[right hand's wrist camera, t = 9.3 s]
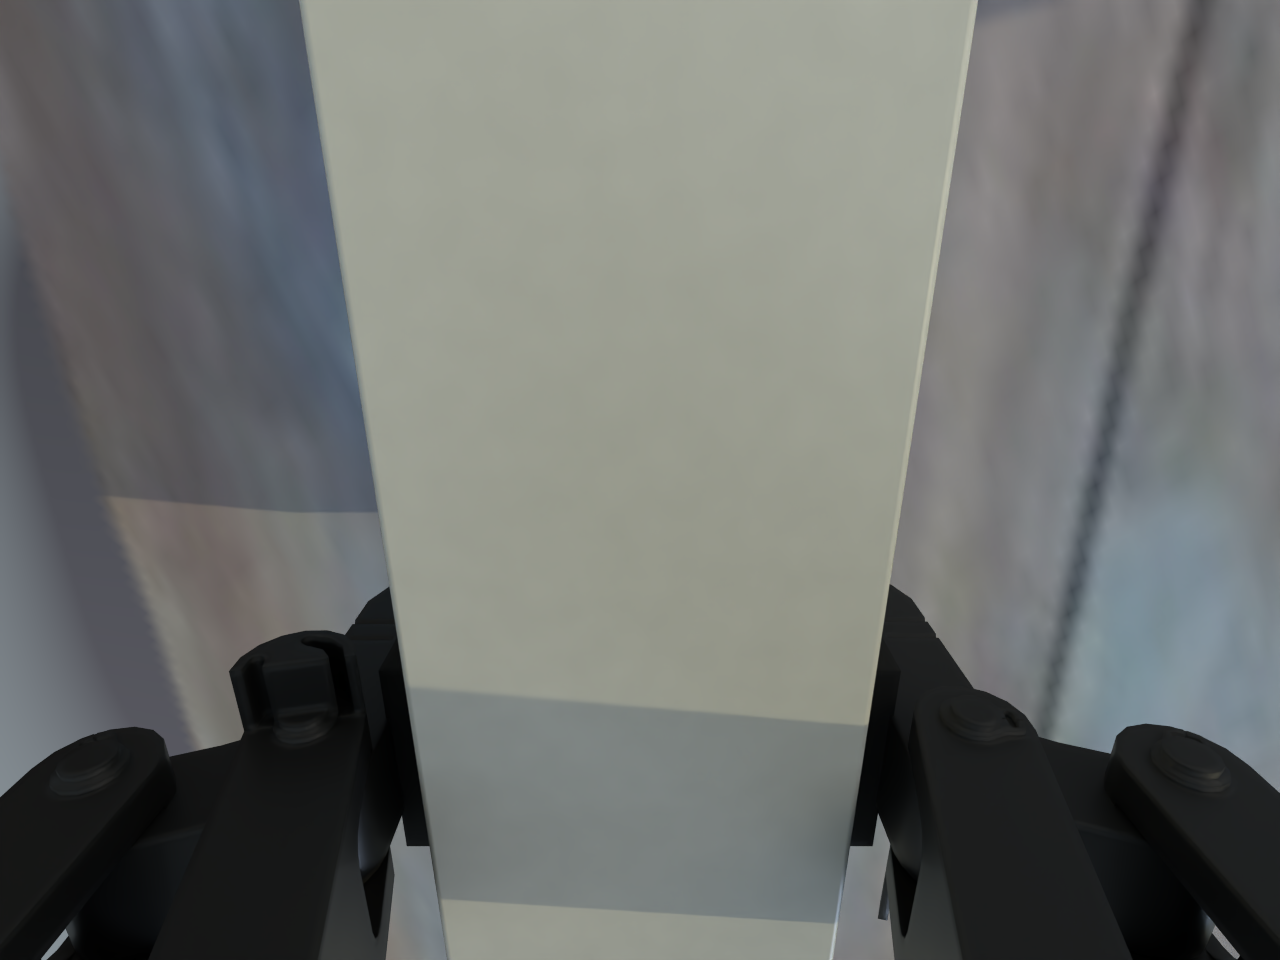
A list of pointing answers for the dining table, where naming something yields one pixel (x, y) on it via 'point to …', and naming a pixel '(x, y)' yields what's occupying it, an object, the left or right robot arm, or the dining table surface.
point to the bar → (639, 435)
